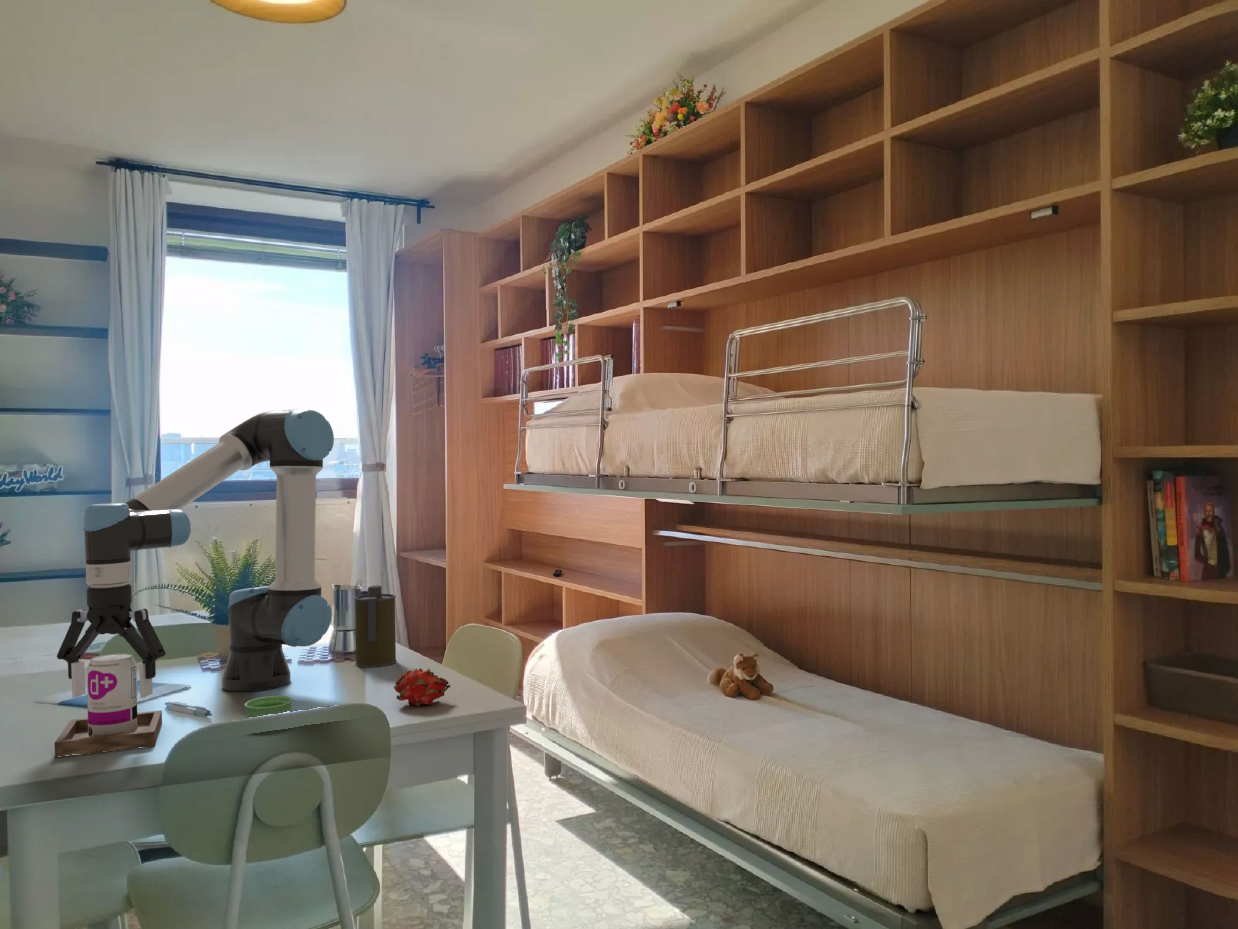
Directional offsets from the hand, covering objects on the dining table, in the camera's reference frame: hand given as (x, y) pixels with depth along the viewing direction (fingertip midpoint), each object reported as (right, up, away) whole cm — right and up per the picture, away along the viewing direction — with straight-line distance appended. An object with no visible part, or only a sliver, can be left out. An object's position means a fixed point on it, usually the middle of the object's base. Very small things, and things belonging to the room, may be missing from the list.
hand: (112, 695), depth 175 cm
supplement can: (0, -8, 0) cm, 8 cm away
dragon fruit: (+54, -8, +23) cm, 59 cm away
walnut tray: (0, -8, 0) cm, 8 cm away
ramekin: (+26, -8, +10) cm, 29 cm away
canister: (+33, -8, +64) cm, 73 cm away
